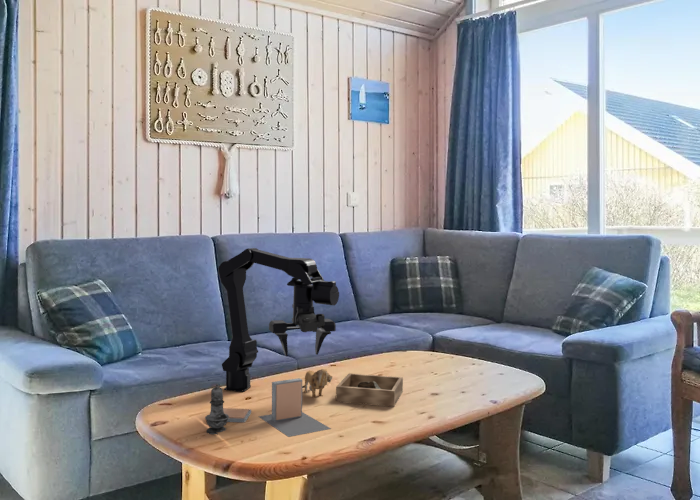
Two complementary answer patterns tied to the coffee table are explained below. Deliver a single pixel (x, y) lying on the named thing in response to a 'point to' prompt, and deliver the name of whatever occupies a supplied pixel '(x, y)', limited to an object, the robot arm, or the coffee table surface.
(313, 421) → the mat
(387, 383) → the box
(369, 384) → the rock sample
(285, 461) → the coffee table surface
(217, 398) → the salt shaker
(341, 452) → the coffee table surface
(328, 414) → the coffee table surface
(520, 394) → the coffee table surface
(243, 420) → the tile
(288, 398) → the tile
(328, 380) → the lion figurine
